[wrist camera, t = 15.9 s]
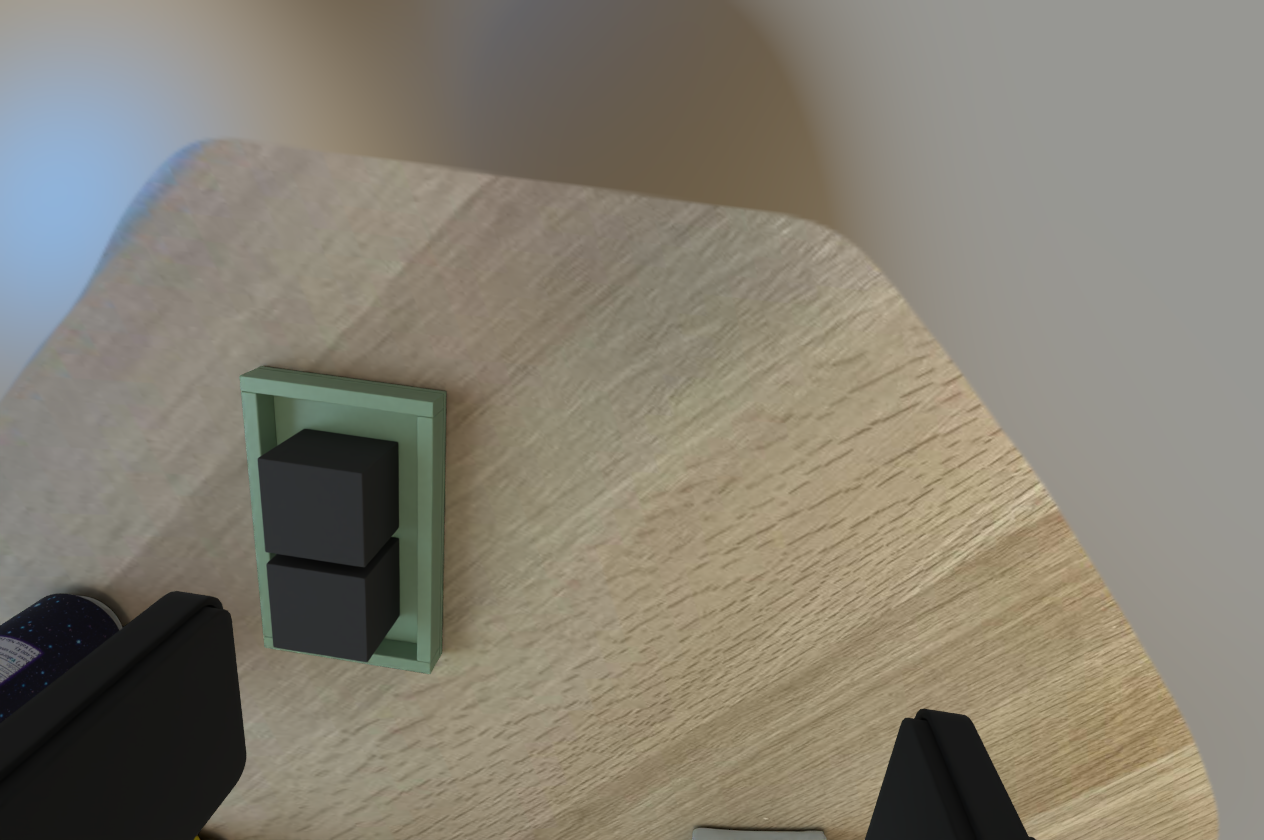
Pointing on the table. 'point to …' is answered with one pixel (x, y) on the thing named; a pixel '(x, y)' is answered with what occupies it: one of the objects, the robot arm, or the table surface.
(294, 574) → the black block
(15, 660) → the beverage can
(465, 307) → the table surface
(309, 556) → the black cube
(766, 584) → the table surface
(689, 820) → the table surface
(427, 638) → the tray
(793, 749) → the table surface
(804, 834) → the cosmetic box
